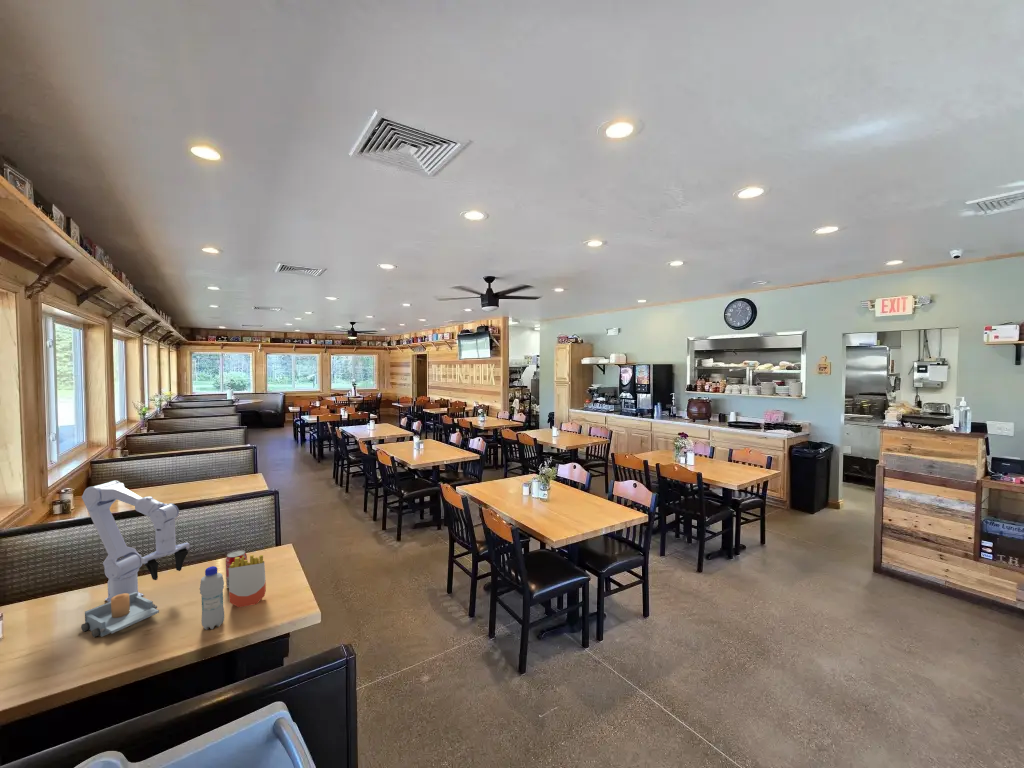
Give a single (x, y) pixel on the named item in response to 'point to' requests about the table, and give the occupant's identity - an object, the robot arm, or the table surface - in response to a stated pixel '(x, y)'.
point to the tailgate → (131, 620)
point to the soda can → (231, 558)
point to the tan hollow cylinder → (120, 605)
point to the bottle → (212, 598)
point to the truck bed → (103, 618)
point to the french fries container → (247, 581)
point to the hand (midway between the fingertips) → (167, 574)
